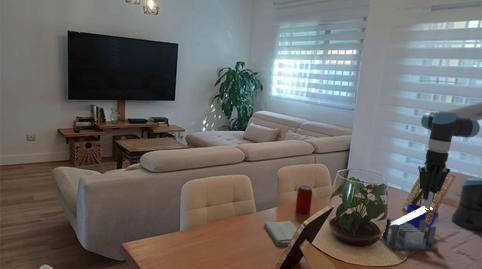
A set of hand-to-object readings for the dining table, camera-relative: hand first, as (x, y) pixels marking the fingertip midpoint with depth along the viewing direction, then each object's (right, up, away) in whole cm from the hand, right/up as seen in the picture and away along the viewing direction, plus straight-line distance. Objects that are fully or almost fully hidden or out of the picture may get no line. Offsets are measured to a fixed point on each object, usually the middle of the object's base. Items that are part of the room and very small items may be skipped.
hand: (426, 207), depth 142 cm
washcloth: (-58, -12, -1) cm, 59 cm away
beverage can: (-46, -7, +25) cm, 53 cm away
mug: (+5, -14, +17) cm, 22 cm away
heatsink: (-8, -15, +2) cm, 17 cm away
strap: (-7, -5, 0) cm, 8 cm away
